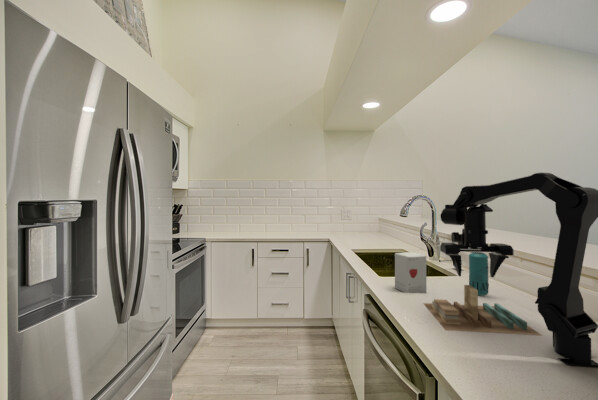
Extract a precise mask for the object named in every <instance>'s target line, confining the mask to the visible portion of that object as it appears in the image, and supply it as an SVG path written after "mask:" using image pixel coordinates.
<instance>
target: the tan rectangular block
mask: <svg viewBox="0 0 598 400" xmlns="http://www.w3.org/2000/svg"><path fill="white" fill-rule="evenodd" d="M463 287H464V289H463V292H464V293H463V295H464V298H463V299H464V302H463V303H464V304H463V305H464V308H465V309H466V310H467V311H468V312H470V313H471V314H472V315H473V316H474V317H476V318H477V319H478V306H479V295H478V290H477V289H475V288H473V287H472V286H470V285H469V284H463Z"/></svg>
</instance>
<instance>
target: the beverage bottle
mask: <svg viewBox="0 0 598 400" xmlns="http://www.w3.org/2000/svg"><path fill="white" fill-rule="evenodd" d="M488 259H489V255H487V254H486V252H471V253H469V254H468V271H469V272H468V273H469V275H468V285H470V286H472V287H473V288H475V289H477V290H478V296H479V295H480V296H486V295H489V288H490V286H489V285H490V284H489V280H490V277H489V273H490V267H489V266H490V265H489V260H488Z"/></svg>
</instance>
